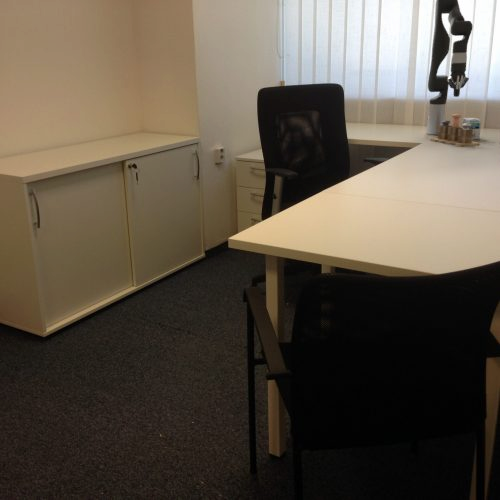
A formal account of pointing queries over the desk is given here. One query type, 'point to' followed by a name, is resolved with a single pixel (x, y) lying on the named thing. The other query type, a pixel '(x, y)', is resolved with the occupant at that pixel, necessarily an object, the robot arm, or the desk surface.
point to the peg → (445, 122)
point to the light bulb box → (474, 126)
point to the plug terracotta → (456, 120)
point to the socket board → (455, 136)
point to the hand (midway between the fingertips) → (456, 96)
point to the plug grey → (466, 126)
